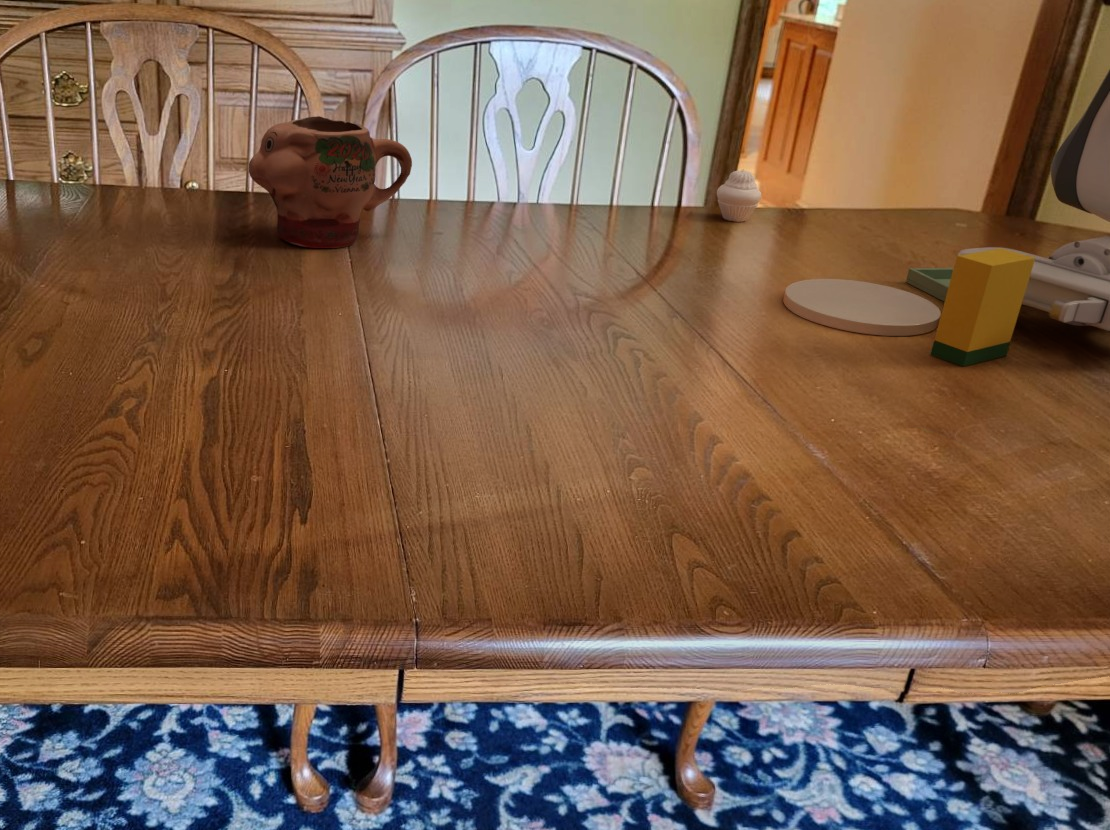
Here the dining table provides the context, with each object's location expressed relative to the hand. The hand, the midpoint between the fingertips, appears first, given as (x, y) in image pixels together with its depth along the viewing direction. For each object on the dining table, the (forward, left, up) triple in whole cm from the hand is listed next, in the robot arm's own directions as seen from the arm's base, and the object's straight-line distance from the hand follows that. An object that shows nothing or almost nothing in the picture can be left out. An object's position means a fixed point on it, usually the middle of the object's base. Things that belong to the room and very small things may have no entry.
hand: (1011, 297), depth 108 cm
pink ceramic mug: (+75, -6, -6) cm, 75 cm away
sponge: (+3, +3, -5) cm, 7 cm away
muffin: (+29, -44, -6) cm, 53 cm away
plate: (+13, -7, -5) cm, 15 cm away
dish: (0, -21, -5) cm, 21 cm away
